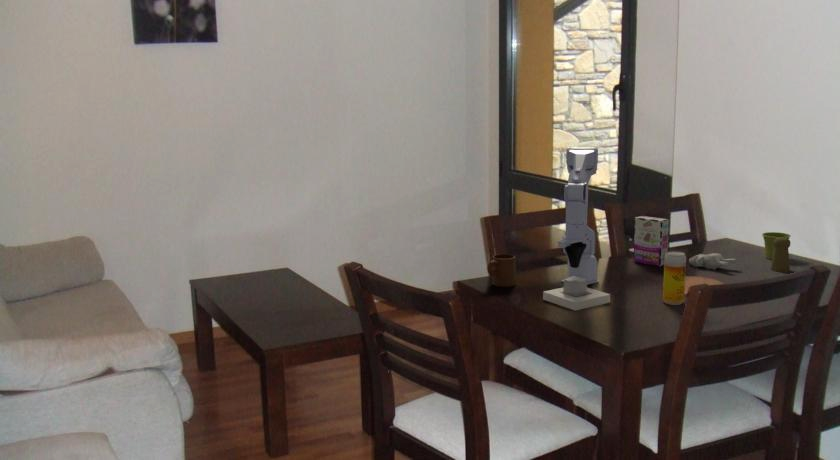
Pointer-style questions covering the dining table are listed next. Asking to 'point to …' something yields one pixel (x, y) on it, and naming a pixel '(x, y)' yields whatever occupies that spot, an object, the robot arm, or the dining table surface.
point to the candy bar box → (650, 240)
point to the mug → (503, 270)
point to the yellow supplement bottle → (674, 278)
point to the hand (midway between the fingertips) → (574, 267)
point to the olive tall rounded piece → (781, 255)
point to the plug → (575, 286)
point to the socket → (576, 298)
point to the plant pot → (772, 242)
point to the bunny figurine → (710, 261)
